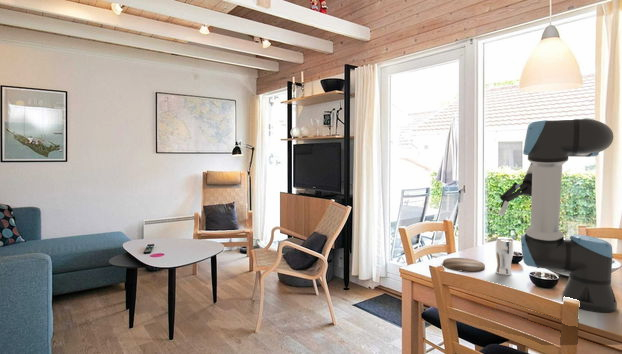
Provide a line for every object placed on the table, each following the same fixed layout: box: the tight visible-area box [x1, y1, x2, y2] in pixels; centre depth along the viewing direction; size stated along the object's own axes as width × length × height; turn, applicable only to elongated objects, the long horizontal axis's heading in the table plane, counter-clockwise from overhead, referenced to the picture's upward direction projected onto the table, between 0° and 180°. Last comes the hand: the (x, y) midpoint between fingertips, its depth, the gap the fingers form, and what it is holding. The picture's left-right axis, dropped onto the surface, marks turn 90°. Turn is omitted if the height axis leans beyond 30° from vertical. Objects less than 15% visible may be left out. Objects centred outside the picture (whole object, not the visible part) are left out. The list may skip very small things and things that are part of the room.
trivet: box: [442, 257, 486, 273], centre depth 171 cm, size 18×18×1 cm
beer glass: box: [495, 237, 514, 276], centre depth 160 cm, size 7×7×15 cm
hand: (516, 218), depth 159 cm, fingers open, 13 cm apart
